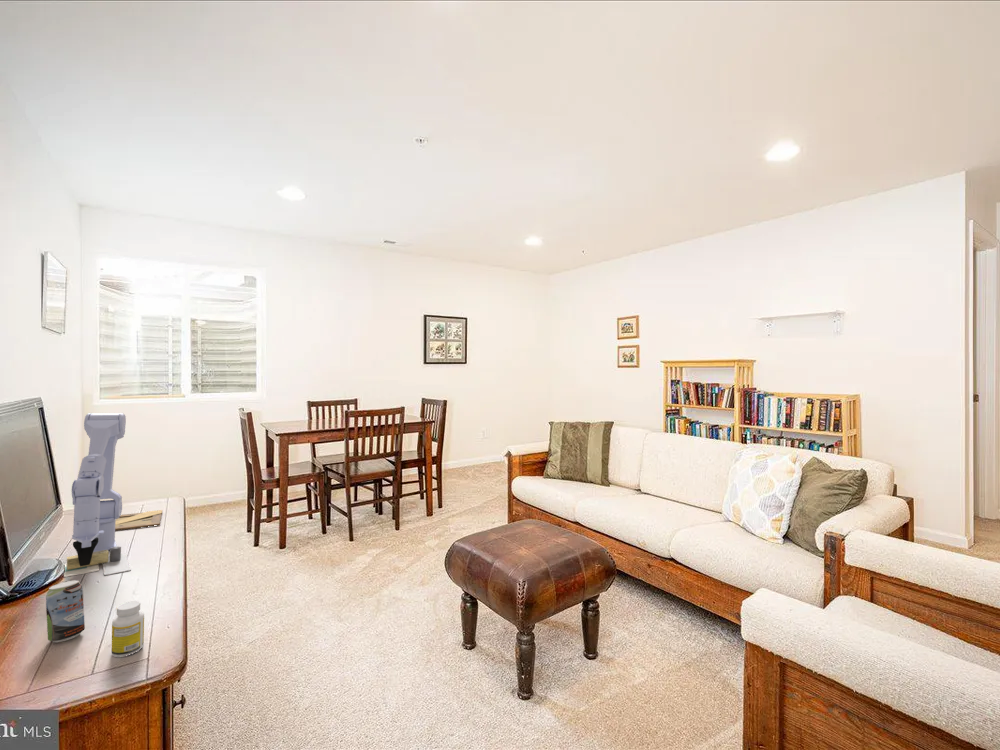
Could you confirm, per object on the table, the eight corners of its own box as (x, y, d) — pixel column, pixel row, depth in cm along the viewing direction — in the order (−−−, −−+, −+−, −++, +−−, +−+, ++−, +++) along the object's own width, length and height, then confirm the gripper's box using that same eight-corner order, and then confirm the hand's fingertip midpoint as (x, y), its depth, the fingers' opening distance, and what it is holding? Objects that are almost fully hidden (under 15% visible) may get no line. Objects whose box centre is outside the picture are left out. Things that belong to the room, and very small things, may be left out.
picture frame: (162, 514, 194) (86, 522, 181) (162, 509, 194) (86, 517, 181) (159, 527, 178) (76, 537, 166) (159, 522, 178) (76, 532, 166)
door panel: (64, 564, 142) (65, 551, 142) (126, 553, 152) (126, 541, 152) (63, 583, 130) (64, 569, 130) (130, 570, 140) (131, 557, 140)
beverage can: (62, 648, 101) (64, 592, 101) (35, 643, 103) (37, 587, 103) (92, 632, 107) (94, 579, 107) (66, 628, 109) (68, 575, 109)
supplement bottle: (122, 643, 104) (124, 598, 104) (149, 643, 104) (150, 598, 104) (104, 658, 98) (106, 611, 98) (132, 658, 99) (133, 611, 99)
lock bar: (107, 559, 145) (107, 549, 145) (108, 561, 144) (108, 551, 144) (66, 567, 139) (66, 557, 139) (67, 570, 137) (67, 559, 137)
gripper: (105, 522, 137) (103, 569, 136) (103, 510, 147) (101, 554, 147) (72, 526, 132) (70, 576, 132) (72, 514, 143) (70, 559, 143)
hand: (84, 565), depth 139 cm, fingers closed
